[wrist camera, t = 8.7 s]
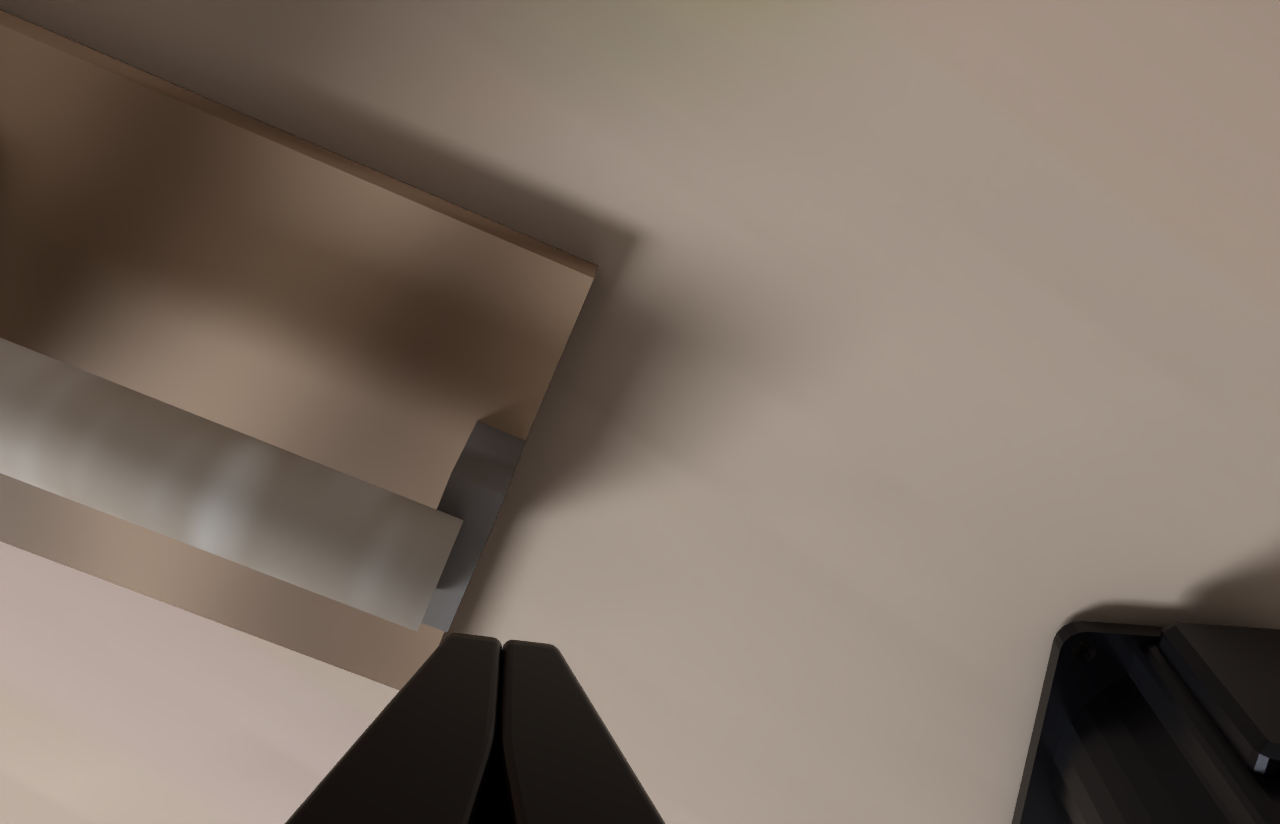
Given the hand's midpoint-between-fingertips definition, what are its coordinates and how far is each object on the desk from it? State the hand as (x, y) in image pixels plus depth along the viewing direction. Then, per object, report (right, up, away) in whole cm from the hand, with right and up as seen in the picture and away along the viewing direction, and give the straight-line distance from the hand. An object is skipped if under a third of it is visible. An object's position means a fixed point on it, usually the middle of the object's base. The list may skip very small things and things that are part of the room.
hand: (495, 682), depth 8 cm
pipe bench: (-9, +4, +13) cm, 16 cm away
